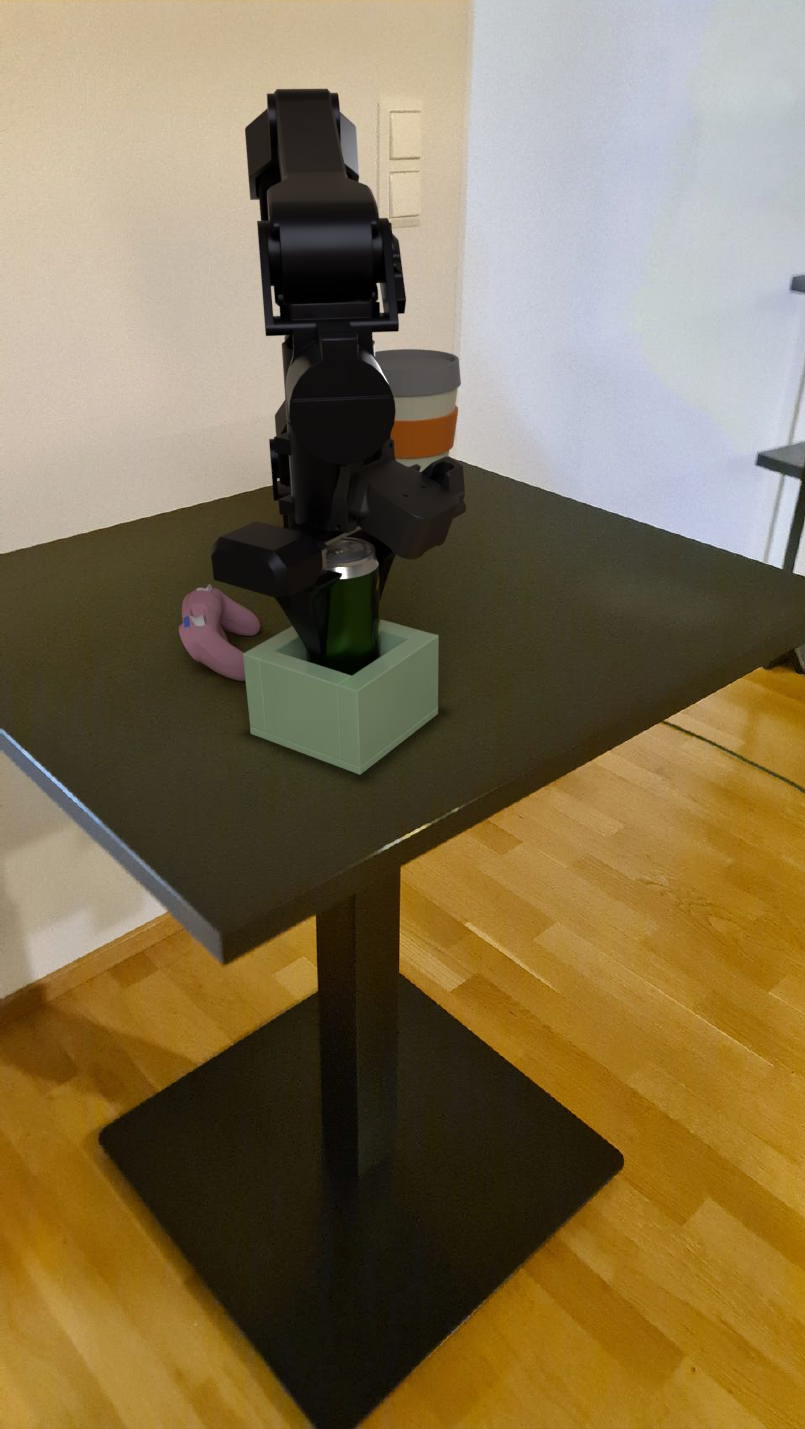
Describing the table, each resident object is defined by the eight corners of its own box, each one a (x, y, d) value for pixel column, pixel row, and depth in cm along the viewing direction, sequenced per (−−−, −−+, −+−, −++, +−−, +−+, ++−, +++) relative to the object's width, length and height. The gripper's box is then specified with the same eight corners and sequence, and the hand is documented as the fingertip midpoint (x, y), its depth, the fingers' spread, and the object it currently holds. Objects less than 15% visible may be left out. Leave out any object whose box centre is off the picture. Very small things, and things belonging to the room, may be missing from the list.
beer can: (332, 730, 72) (323, 571, 66) (296, 699, 76) (285, 546, 70) (396, 708, 75) (393, 553, 68) (357, 679, 78) (352, 530, 72)
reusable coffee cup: (461, 472, 130) (463, 349, 123) (456, 503, 119) (458, 371, 112) (363, 470, 131) (360, 348, 124) (350, 501, 121) (345, 370, 113)
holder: (250, 733, 75) (242, 653, 72) (333, 679, 82) (329, 604, 79) (360, 775, 70) (357, 691, 67) (438, 713, 77) (439, 635, 74)
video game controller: (220, 649, 90) (176, 585, 87) (265, 625, 90) (221, 560, 86) (212, 703, 82) (162, 635, 79) (261, 678, 81) (213, 608, 78)
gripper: (344, 477, 54) (354, 729, 62) (515, 404, 67) (505, 619, 75) (192, 446, 60) (219, 681, 67) (377, 384, 73) (381, 587, 81)
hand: (341, 640), depth 73 cm, fingers closed on beer can, 5 cm apart
